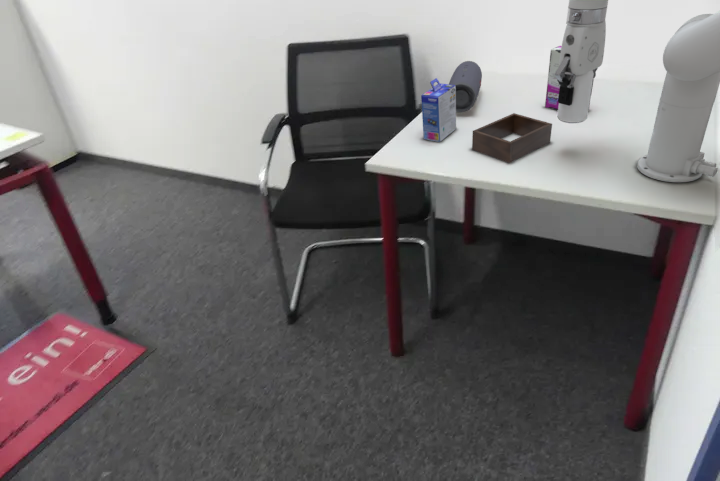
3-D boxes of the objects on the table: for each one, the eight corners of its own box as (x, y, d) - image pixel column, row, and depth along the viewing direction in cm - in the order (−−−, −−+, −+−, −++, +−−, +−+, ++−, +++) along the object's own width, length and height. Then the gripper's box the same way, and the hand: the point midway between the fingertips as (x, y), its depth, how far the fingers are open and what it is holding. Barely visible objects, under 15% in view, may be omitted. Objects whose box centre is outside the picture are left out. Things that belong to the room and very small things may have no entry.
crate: (550, 142, 133) (552, 123, 131) (509, 163, 126) (510, 143, 123) (512, 131, 141) (513, 113, 139) (471, 149, 134) (472, 130, 131)
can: (588, 123, 121) (597, 70, 114) (558, 124, 122) (565, 71, 115) (584, 113, 126) (592, 61, 119) (555, 113, 127) (561, 62, 121)
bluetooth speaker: (477, 117, 152) (478, 82, 146) (444, 116, 154) (444, 82, 149) (482, 90, 170) (484, 58, 165) (453, 90, 172) (453, 59, 167)
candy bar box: (589, 110, 149) (599, 49, 140) (580, 115, 146) (589, 54, 137) (553, 102, 156) (560, 44, 147) (543, 107, 154) (550, 48, 145)
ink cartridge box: (438, 126, 149) (438, 73, 141) (456, 129, 146) (457, 75, 138) (421, 139, 142) (420, 85, 134) (440, 142, 139) (439, 87, 131)
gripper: (577, 26, 105) (565, 114, 115) (626, 9, 113) (611, 93, 123) (545, 22, 110) (536, 106, 120) (593, 6, 118) (582, 86, 128)
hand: (574, 99), depth 121 cm, fingers closed on can, 6 cm apart
